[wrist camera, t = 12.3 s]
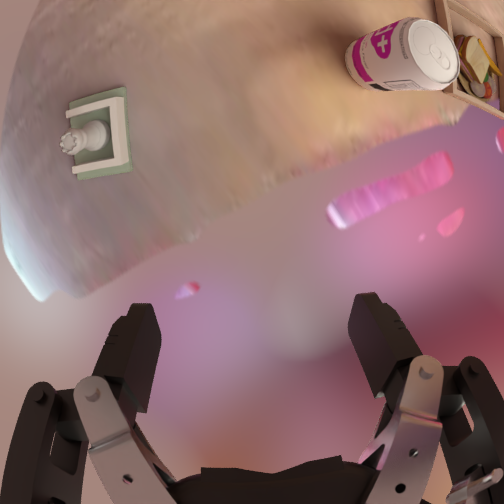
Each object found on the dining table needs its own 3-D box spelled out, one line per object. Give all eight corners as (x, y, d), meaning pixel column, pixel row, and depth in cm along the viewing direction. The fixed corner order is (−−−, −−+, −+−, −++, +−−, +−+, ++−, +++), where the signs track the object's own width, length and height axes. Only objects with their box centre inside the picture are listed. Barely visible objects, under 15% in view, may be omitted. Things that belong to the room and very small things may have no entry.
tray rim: (432, -5, 19) (441, -8, 17) (495, 35, 20) (503, 35, 18) (443, 92, 29) (453, 93, 27) (501, 119, 30) (510, 121, 27)
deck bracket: (72, 102, 28) (59, 103, 24) (126, 87, 28) (115, 85, 25) (81, 178, 33) (69, 185, 30) (132, 170, 34) (123, 176, 31)
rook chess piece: (114, 119, 29) (84, 123, 22) (110, 151, 31) (81, 163, 24) (87, 118, 28) (54, 123, 21) (83, 149, 30) (52, 161, 23)
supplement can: (332, 67, 28) (389, 47, 15) (359, 29, 25) (419, 0, 12) (377, 102, 31) (447, 107, 17) (401, 64, 27) (471, 57, 14)
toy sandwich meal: (475, 114, 30) (493, 118, 26) (436, 54, 26) (454, 51, 22) (496, 80, 26) (512, 82, 22) (461, 24, 21) (477, 21, 17)
